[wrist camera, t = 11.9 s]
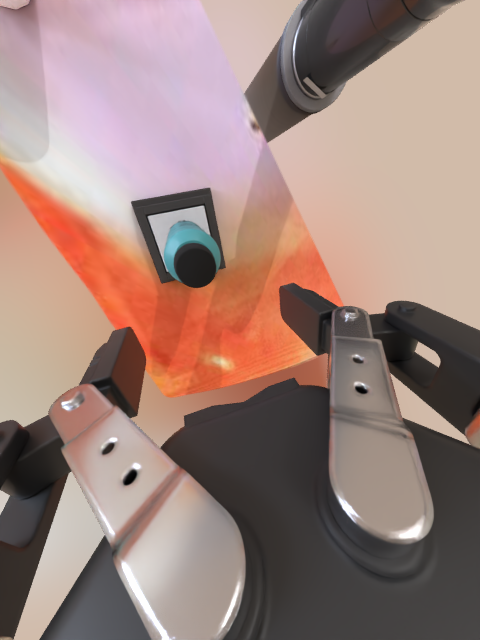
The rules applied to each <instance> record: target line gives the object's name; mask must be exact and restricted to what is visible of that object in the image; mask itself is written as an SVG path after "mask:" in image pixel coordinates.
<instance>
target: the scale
mask: <svg viewBox="0 0 480 640" xmlns="http://www.w3.org/2000/svg"><path fill="white" fill-rule="evenodd" d="M131 204H132V206H133V209H134V212H135V214H136V217H137V220H138V222H139V225H140V227H141V230H142V233H143V235H144V238H145V241H146V243H147V246H148V249H149V251H150V254H151V257H152V259H153V262H154V265H155V267H156V270H157V273H158V275H159V278H160V280H161V283H166V282H170V281H174V280H176V279H175V278H174V277H173V276H172V275H171V274H170V273H169V271H168V272H167V270H166V267H165V265H164V262H163V259H162V256H161V253H160V250H159V247H158V245H157V242H156V239H155V236H154V233H153V230H152V228H151V225H150V222H149V219H148V216H151V215H156V214H162V213H167V212H172V211H177V210H183V209H188V208H193V207H198V206H204V209H205V213H206V218H207V222H208V227H209V231H210V236H211V237H212V238H213V239H214V241H215V242H216V244H217V246H218V248H219V250H220V256H221V261H220V266H219V269H223V268H226V266H225V261H224V256H223V251H222V246H221V241H220V236H219V231H218V226H217V221H216V216H215V211H214V206H213V200H212V195H211V190H210V188H205V189H199V190H194V191H188V192H182V193H177V194H171V195H165V196H160V197H154V198H148V199H143V200H137V201H132V202H131ZM219 269H218V270H219Z"/></svg>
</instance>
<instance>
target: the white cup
mask: <svg viewBox="0 0 480 640" xmlns="http://www.w3.org/2000/svg"><path fill="white" fill-rule="evenodd" d="M29 1H30V0H0V6H3V7H7V8H12V9H19V8H21V7H23V6H25V5H27V4H29Z"/></svg>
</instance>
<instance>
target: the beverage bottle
mask: <svg viewBox="0 0 480 640" xmlns="http://www.w3.org/2000/svg"><path fill="white" fill-rule="evenodd" d="M175 223H176V222H175ZM199 226H200V225H199ZM199 226H198V225H197V223H196V224H195V223H193V222H190V221H185V220H182V221H181V220H180V221H178V223H176V224H174V225H173V226H172V227H170V228H171V229H170V230H169V233H167V234H168V237H167V240H165V241H166V246H165V248H164V262H165V265H166V268H167V270H168V271H169V273H170V274H171V275H172V276H173V277H174V278H175V279H176V280H178V281H179V282H181V283H184V284H185V285H187V286H189V287H193V288H200V287H204V286H206V285H208V284H209V283H210V282H211V281H212V280H213V279H214V277H215V274H216V273H217V271H218V269H219V266H220V261H221V256H220V250H219V248H218V246H217V244H216V242H215V241H214V239H213V238H212V237H211V236H210V235H208V234H207V233H206V232H205V231H204V230H202V229H201V228H200V227H199Z"/></svg>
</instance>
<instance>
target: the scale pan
mask: <svg viewBox="0 0 480 640" xmlns="http://www.w3.org/2000/svg"><path fill="white" fill-rule="evenodd" d="M148 219H149V222H150V225H151V228H152V230H153V233H154V236H155V239H156V242H157V245H158V247H159V250H160V253H161V256H162V259H163V262H164V248H165V246H166V241H165V240H167V237H168V234H167V233H169V230H170V229H171V228H170V227H172V226H173V225H174V224H176V223H178V221H180V220H181V221H182V220H185V221H190V222H193V223H195V224H196V223H197V225H198V226H199V225H200V226H199V227H200V228H201V229H202V230H204V231H205V232H206V233H207V234H208V235H210V231H209V227H208V222H207V218H206V213H205V209H204V206H198V207H193V208H188V209H183V210H177V211H172V212H167V213H162V214H156V215H151V216H148ZM175 222H176V223H175ZM164 265H165V262H164ZM165 267H166V265H165ZM166 270H167V268H166ZM167 272H168V270H167Z"/></svg>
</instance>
